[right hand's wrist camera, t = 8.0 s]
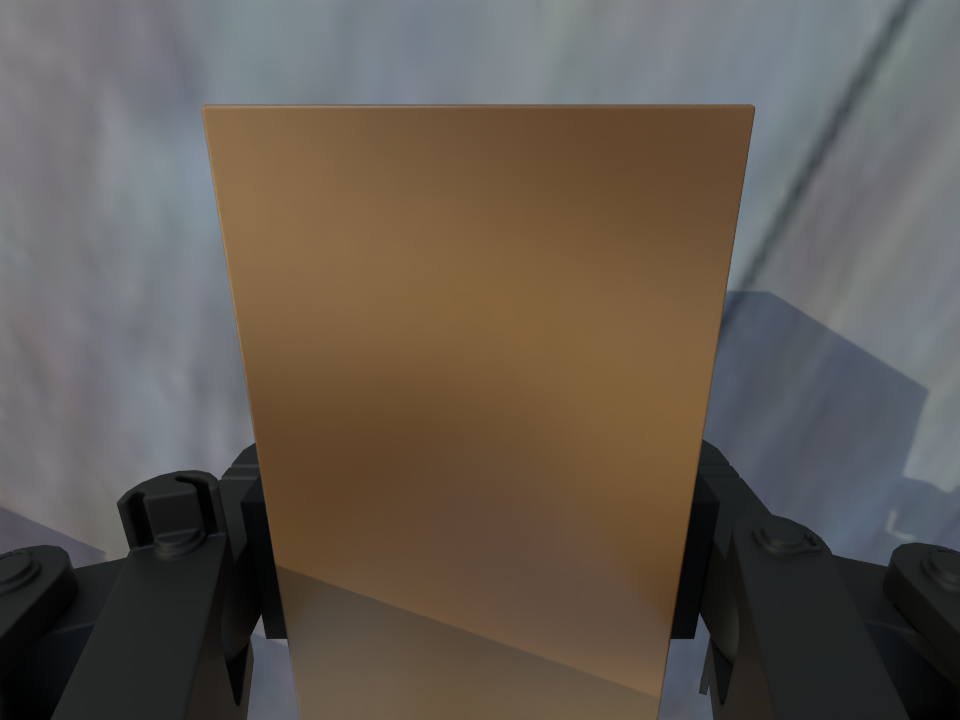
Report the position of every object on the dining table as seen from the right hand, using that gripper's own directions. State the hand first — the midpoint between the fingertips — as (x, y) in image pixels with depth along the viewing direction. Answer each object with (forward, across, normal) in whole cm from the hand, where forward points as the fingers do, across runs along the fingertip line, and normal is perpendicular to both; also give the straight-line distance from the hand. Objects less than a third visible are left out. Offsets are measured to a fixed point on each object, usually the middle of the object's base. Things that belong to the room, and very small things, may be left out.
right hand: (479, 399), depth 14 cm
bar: (0, 0, -20) cm, 20 cm away
